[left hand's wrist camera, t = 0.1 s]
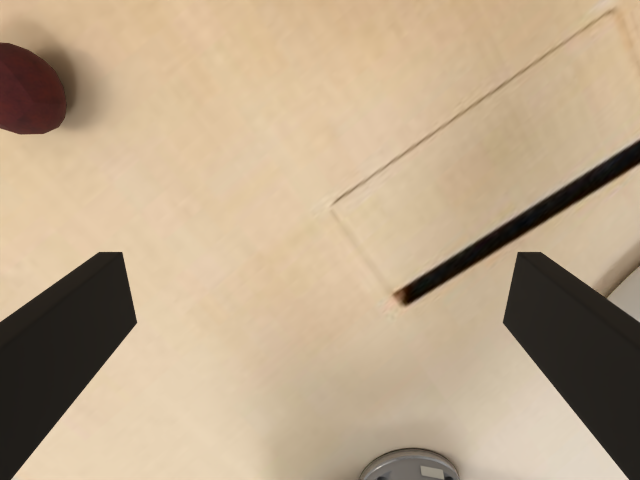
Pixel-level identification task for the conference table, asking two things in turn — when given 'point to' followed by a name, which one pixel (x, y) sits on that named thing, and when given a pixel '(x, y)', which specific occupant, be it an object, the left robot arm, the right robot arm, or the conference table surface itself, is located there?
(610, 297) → the projector
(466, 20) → the conference table surface
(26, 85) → the dark maroon ball
